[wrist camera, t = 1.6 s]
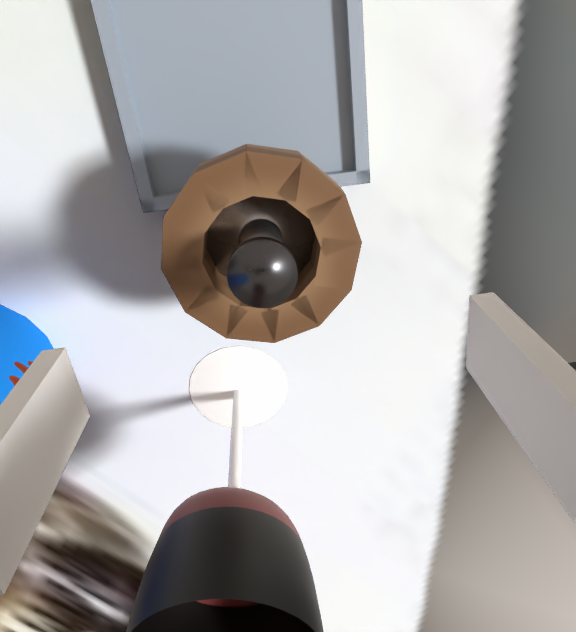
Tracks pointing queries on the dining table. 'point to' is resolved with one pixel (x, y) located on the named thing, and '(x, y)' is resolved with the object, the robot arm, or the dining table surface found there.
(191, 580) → the wineglass
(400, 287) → the dining table surface
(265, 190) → the ring
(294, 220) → the metal peg stand
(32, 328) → the thermos
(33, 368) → the robot arm
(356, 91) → the tray
